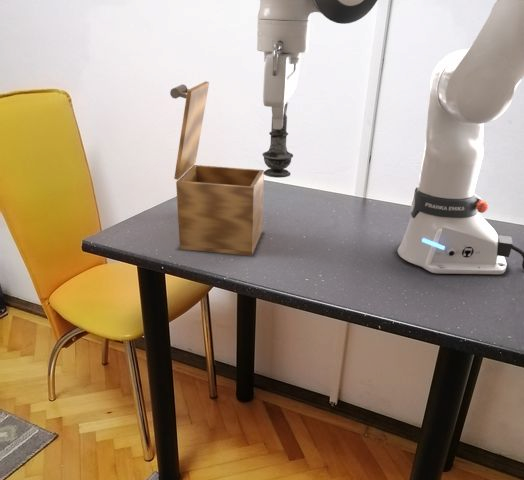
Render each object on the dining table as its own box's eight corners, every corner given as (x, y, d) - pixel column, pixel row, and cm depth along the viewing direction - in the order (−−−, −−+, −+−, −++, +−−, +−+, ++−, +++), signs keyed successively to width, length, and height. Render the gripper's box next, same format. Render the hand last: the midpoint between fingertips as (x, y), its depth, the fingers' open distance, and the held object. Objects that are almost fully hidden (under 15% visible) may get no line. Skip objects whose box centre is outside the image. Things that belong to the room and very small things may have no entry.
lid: (209, 82, 108) (185, 75, 108) (191, 91, 97) (165, 83, 97) (195, 163, 118) (173, 156, 118) (177, 180, 106) (153, 172, 106)
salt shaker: (290, 169, 106) (294, 104, 99) (293, 178, 101) (298, 109, 94) (260, 169, 105) (262, 103, 99) (262, 177, 100) (264, 108, 94)
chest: (261, 232, 124) (264, 170, 116) (251, 255, 113) (253, 187, 105) (196, 227, 126) (193, 164, 118) (179, 249, 114) (176, 181, 107)
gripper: (295, 44, 82) (290, 139, 89) (306, 37, 99) (301, 117, 106) (255, 42, 82) (253, 136, 90) (272, 36, 99) (269, 116, 107)
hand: (279, 126), depth 98 cm, fingers closed on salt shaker, 3 cm apart
